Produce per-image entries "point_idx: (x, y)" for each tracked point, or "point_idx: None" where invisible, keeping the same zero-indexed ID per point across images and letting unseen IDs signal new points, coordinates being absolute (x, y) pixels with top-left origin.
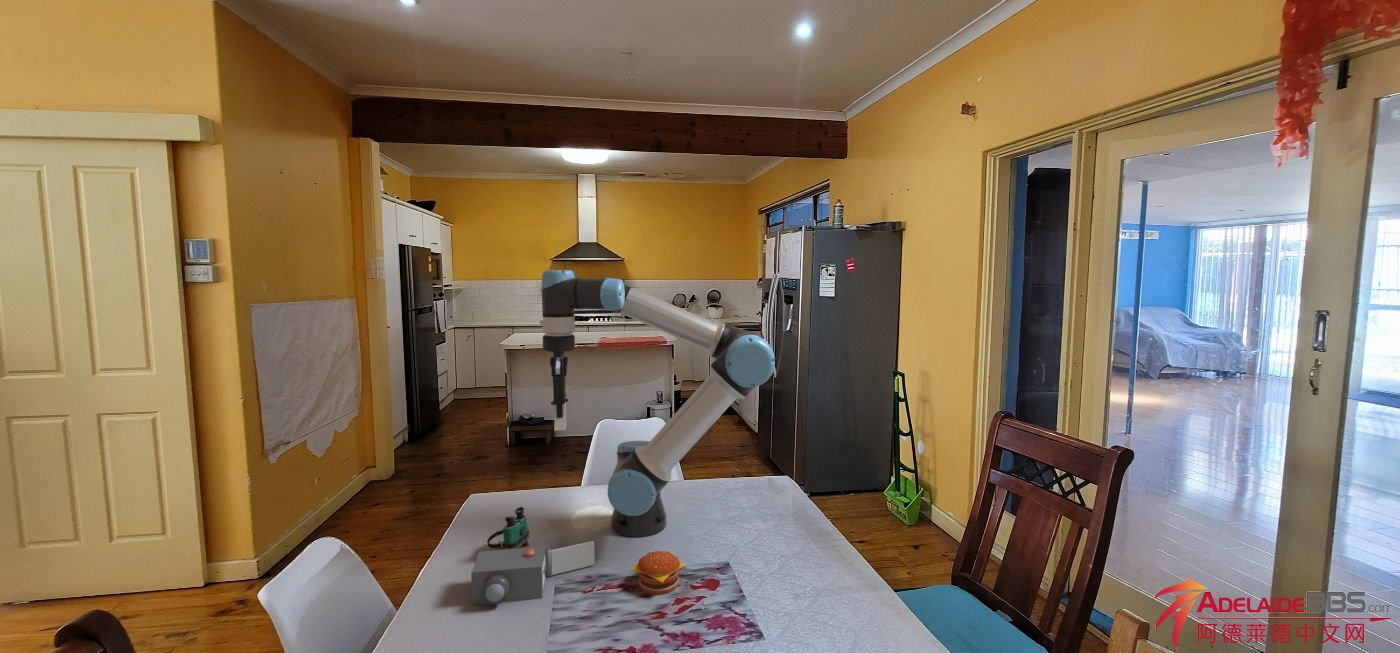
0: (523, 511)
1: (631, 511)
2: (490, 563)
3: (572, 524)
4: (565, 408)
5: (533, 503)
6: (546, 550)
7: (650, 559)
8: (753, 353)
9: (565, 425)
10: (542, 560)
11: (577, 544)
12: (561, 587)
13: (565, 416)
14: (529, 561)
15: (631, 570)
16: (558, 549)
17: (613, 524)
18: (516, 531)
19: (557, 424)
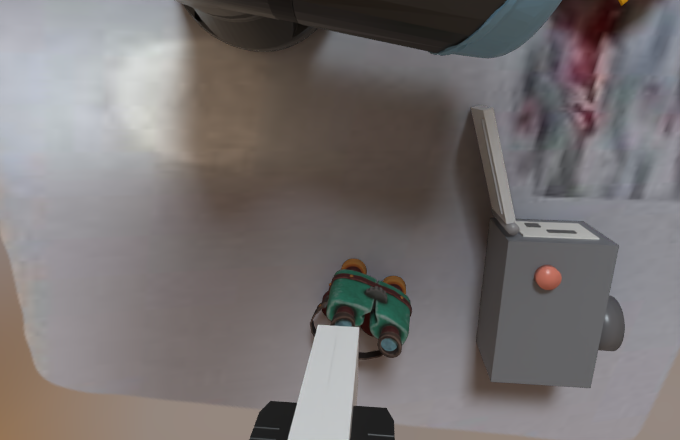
0: (347, 314)
1: None
2: (561, 355)
3: (234, 160)
4: (341, 437)
5: (96, 263)
6: (515, 234)
7: None
8: None
9: (357, 346)
10: (588, 244)
11: (493, 155)
12: (552, 182)
13: (353, 388)
14: (581, 273)
15: (623, 4)
16: (508, 204)
17: (287, 44)
18: (395, 312)
19: (355, 401)
